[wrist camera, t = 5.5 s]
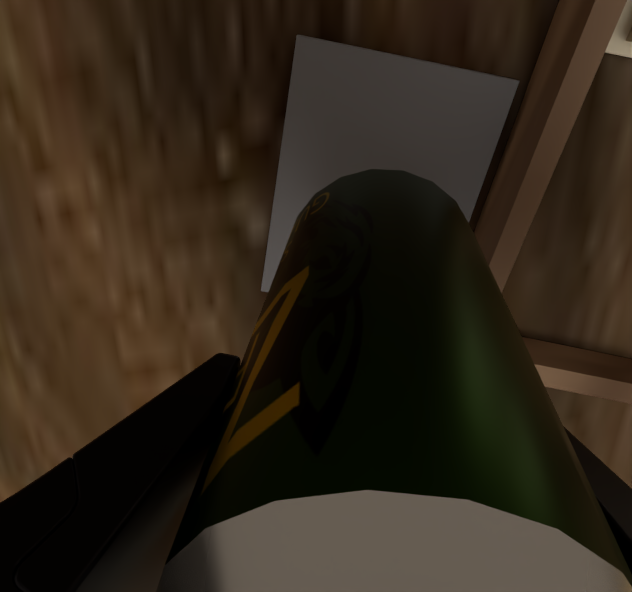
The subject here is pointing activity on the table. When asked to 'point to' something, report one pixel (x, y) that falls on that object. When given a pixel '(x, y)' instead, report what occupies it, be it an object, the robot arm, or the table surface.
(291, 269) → the beer can
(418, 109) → the grey rubber mat
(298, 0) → the table surface
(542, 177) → the wooden tray
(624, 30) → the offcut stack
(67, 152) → the table surface
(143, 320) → the table surface
